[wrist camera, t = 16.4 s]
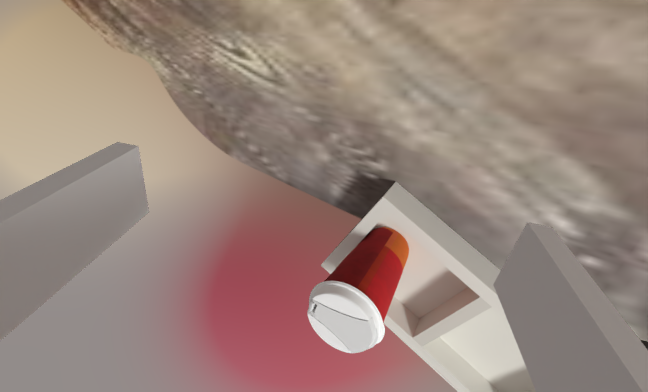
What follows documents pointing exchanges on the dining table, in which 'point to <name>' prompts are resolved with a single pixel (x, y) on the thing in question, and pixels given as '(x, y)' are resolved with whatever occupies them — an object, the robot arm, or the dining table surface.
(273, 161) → the dining table surface
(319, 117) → the dining table surface
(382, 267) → the paper cup
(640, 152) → the dining table surface
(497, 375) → the cup carrier
